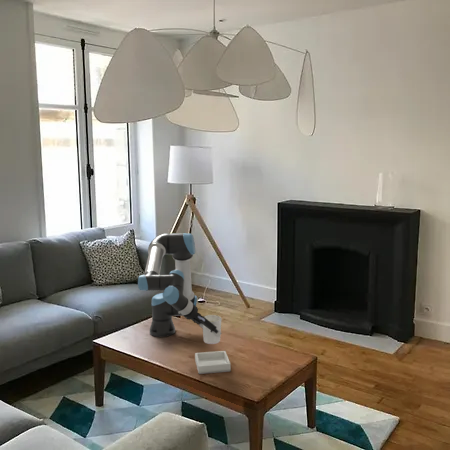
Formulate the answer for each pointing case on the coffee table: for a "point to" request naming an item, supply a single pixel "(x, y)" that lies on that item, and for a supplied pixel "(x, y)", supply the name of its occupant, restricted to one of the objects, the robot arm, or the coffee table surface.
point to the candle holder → (207, 335)
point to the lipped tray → (212, 362)
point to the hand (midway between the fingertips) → (213, 332)
